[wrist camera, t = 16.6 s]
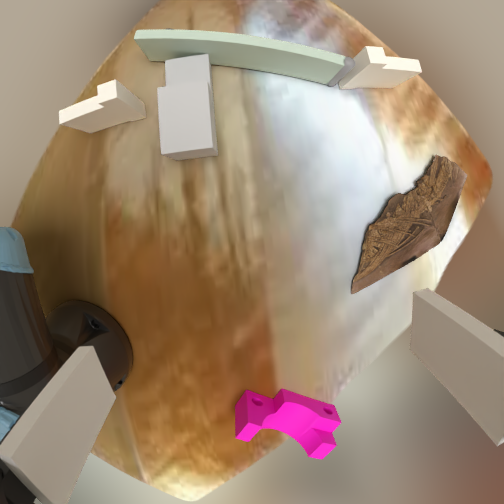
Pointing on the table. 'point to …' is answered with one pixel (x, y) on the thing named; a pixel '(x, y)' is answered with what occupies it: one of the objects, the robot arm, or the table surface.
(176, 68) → the white stepped block
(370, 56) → the wall frame
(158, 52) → the spring door
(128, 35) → the table surface
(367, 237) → the wooden fragment
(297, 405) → the magenta saddle bracket
